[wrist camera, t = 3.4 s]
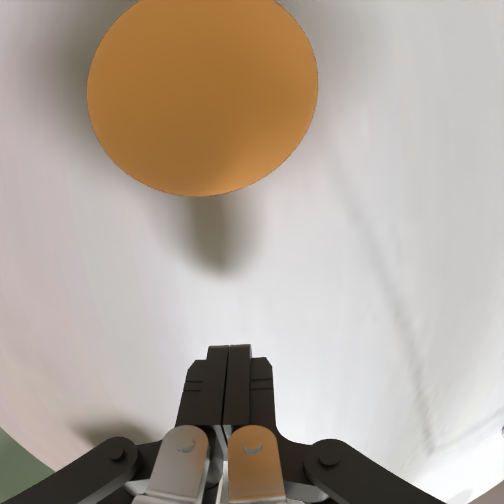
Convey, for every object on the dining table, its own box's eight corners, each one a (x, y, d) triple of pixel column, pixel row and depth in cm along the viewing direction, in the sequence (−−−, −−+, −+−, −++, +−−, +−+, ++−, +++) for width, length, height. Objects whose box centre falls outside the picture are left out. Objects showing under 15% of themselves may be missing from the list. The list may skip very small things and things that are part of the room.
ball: (292, 18, 9) (323, -70, 3) (305, 170, 11) (356, 216, 5) (133, 40, 9) (41, -9, 3) (148, 186, 11) (60, 242, 6)
